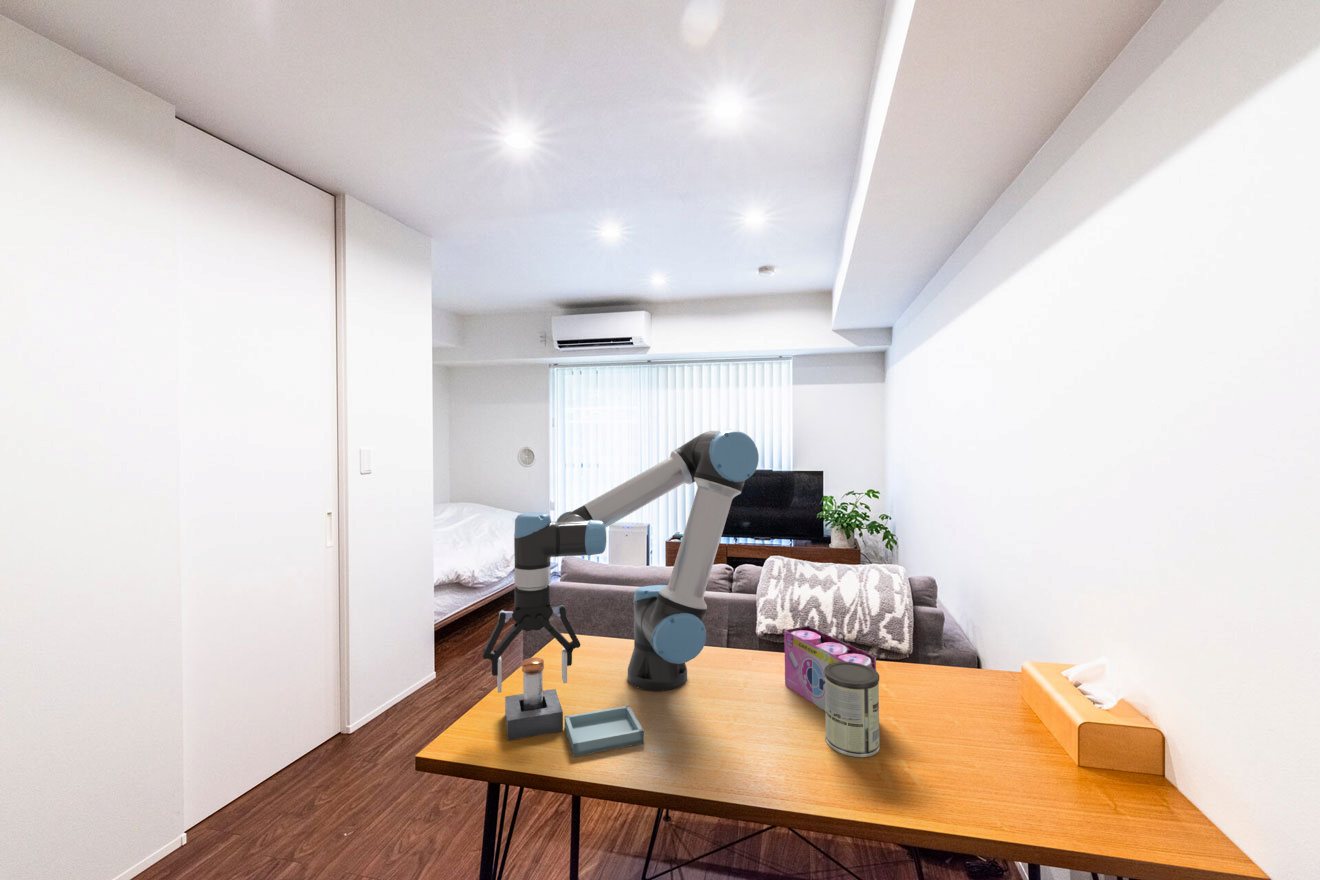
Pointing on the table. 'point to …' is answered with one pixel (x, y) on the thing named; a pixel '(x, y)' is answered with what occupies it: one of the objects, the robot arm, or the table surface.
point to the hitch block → (533, 716)
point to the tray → (603, 730)
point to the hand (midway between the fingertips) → (532, 685)
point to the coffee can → (852, 709)
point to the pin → (533, 683)
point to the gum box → (816, 661)
